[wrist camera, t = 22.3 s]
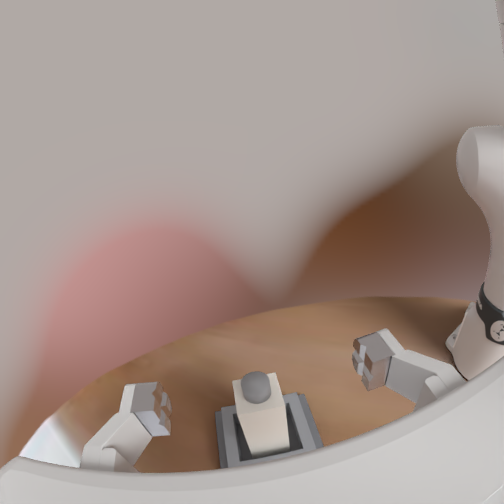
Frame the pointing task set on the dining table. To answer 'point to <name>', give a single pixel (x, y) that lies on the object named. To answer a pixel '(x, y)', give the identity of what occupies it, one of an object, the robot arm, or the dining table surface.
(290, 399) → the socket dock
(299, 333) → the dining table surface
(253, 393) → the spigot peg
